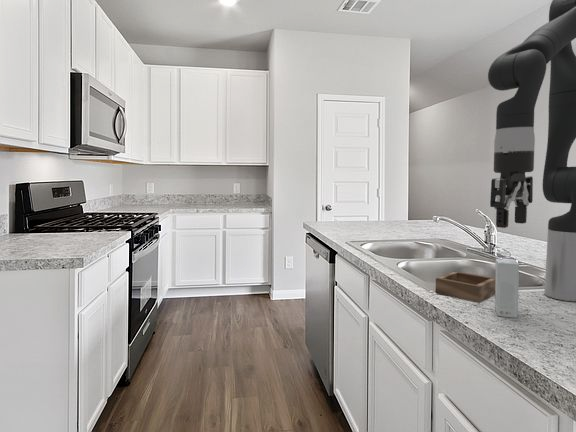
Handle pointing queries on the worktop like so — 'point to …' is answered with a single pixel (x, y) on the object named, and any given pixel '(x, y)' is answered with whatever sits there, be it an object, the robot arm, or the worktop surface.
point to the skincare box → (506, 287)
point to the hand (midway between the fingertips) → (511, 225)
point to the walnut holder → (466, 286)
